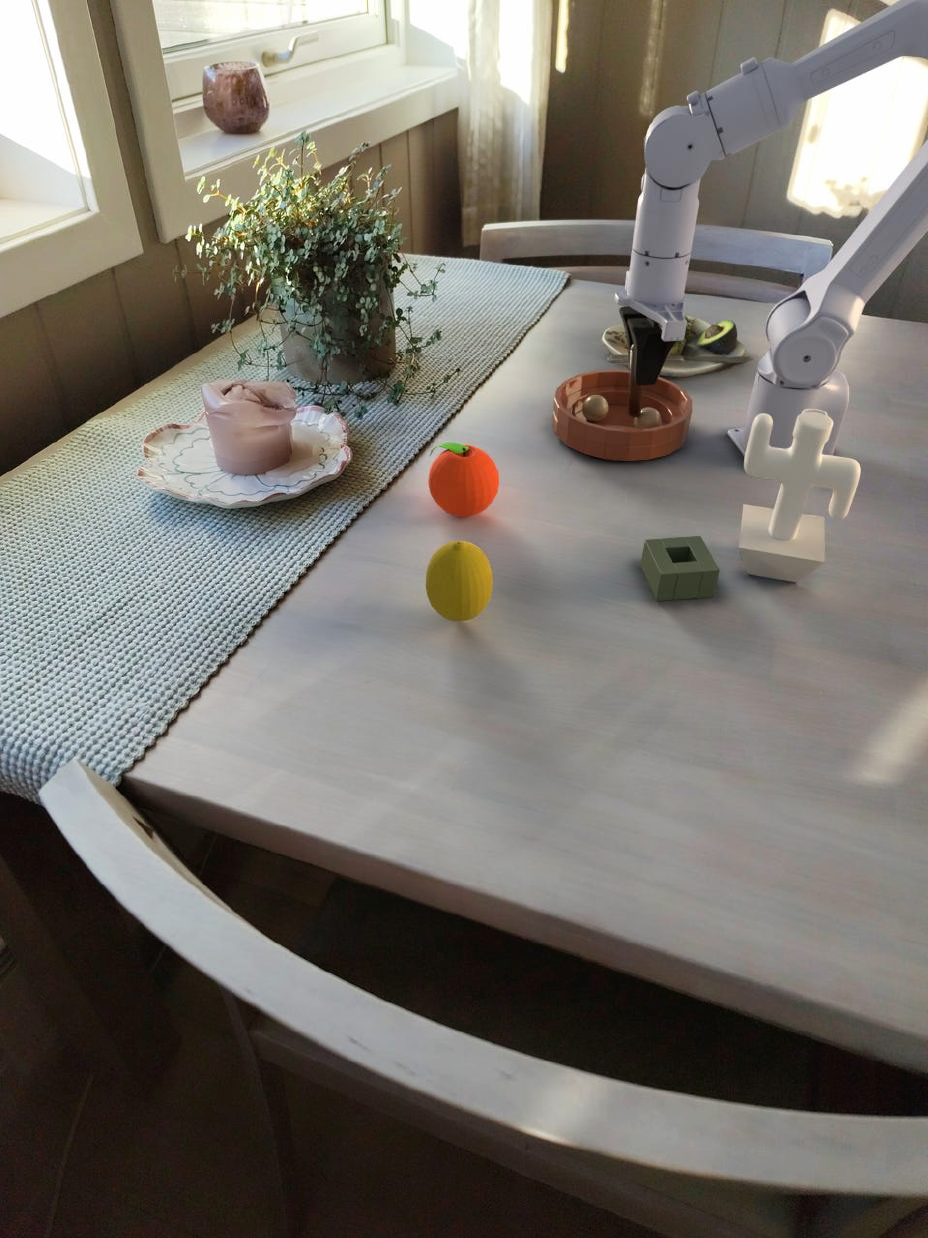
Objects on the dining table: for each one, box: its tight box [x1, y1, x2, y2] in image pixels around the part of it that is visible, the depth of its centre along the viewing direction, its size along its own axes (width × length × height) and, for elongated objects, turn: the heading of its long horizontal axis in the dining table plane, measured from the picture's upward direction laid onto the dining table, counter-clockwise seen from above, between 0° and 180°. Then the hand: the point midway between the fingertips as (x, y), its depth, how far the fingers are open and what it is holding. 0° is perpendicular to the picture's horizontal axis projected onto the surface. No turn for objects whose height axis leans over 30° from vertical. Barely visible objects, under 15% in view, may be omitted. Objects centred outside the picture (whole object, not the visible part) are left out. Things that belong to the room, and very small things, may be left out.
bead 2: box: [634, 407, 662, 429], centre depth 97 cm, size 3×3×3 cm
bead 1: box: [582, 395, 608, 422], centre depth 99 cm, size 3×3×3 cm
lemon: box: [425, 540, 494, 622], centre depth 71 cm, size 6×6×8 cm
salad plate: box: [600, 314, 754, 378], centre depth 113 cm, size 19×18×5 cm
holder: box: [640, 535, 721, 602], centre depth 77 cm, size 5×5×3 cm
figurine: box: [738, 409, 861, 584], centre depth 75 cm, size 7×9×15 cm
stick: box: [628, 345, 642, 418], centre depth 94 cm, size 1×1×8 cm
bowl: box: [551, 369, 693, 462], centre depth 98 cm, size 15×15×4 cm
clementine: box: [427, 442, 500, 518], centre depth 85 cm, size 8×7×7 cm
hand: (642, 379), depth 94 cm, fingers closed on stick, 1 cm apart
